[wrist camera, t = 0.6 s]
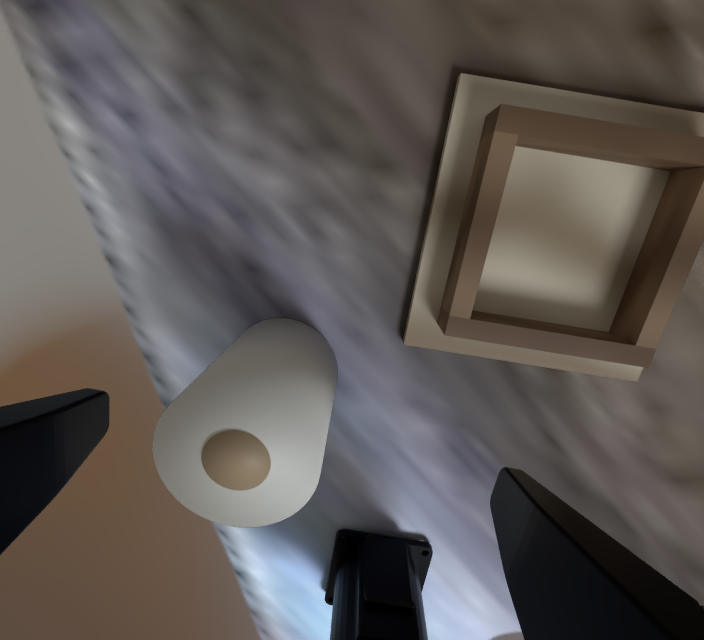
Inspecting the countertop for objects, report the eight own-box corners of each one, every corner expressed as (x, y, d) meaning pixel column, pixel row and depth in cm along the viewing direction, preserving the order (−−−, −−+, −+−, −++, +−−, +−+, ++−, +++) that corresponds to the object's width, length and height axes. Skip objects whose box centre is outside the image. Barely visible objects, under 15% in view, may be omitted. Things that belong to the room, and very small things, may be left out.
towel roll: (330, 425, 22) (310, 540, 14) (227, 409, 22) (151, 515, 14) (345, 327, 20) (331, 400, 13) (232, 309, 20) (150, 371, 13)
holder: (629, 376, 20) (665, 400, 18) (402, 340, 20) (407, 358, 18) (735, 123, 17) (800, 108, 14) (457, 77, 17) (473, 54, 14)
